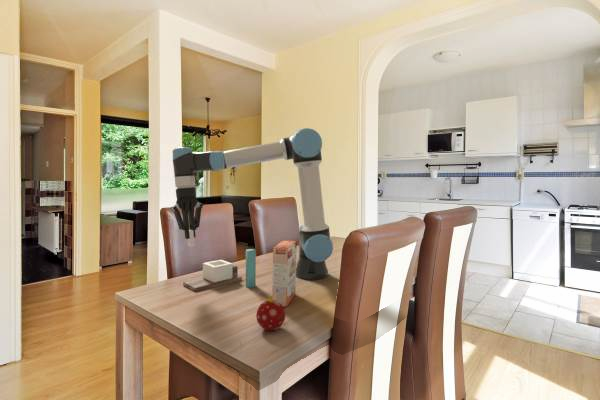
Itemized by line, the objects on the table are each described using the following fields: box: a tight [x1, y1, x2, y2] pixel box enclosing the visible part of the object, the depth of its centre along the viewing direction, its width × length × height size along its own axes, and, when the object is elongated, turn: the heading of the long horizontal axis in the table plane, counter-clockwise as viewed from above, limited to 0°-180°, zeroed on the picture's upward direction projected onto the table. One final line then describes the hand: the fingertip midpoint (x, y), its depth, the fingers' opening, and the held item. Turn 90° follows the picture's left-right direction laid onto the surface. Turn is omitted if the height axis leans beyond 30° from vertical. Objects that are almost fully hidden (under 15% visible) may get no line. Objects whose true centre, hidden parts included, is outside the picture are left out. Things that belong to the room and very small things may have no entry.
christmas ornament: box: [255, 295, 286, 331], centre depth 102 cm, size 9×9×10 cm
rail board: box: [182, 264, 243, 293], centre depth 144 cm, size 10×22×6 cm, turn 134°
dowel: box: [245, 248, 257, 289], centre depth 140 cm, size 4×4×15 cm
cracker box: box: [271, 240, 297, 308], centre depth 125 cm, size 14×6×21 cm, turn 168°
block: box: [202, 259, 234, 282], centre depth 146 cm, size 9×9×6 cm
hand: (191, 246), depth 136 cm, fingers closed
